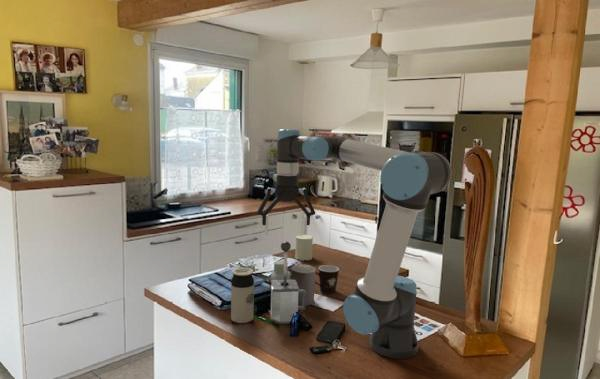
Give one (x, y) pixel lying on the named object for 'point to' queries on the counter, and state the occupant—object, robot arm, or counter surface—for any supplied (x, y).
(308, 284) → the grey cylinder
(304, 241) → the can
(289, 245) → the plunger
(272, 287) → the carafe
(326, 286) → the coffee mug
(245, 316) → the travel mug
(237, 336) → the counter surface
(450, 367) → the counter surface
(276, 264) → the air freshener
